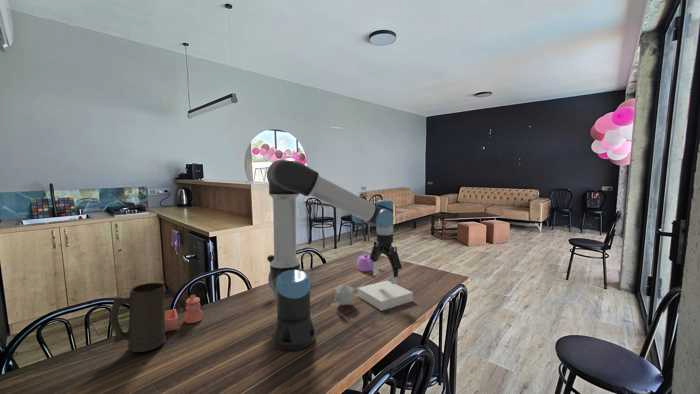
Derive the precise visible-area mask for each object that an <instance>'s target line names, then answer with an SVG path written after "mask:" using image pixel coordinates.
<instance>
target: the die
mask: <svg viewBox="0 0 700 394" xmlns="http://www.w3.org/2000/svg"><path fill="white" fill-rule="evenodd" d="M334 302H335V303H339V304H340V305H342V306H346V305H348V304H351V303H353V302H355V288H354V287H353V286H350V285H348V284H346V283H343V284H341V285H338V286H337V287H335V288H334Z"/></svg>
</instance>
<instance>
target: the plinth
mask: <svg viewBox="0 0 700 394" xmlns="http://www.w3.org/2000/svg"><path fill="white" fill-rule="evenodd" d="M357 297H359V298H360V299H361V300H363V301H365V302H367V303H368V304H370V305H371V306H373V307H374V308H377V309H378V310H379V311H385V310H388V309H392V308H395V307H398V306H401V305H404V304H407V303H411V302H413V301H414V300H413V299H414V292H413V291H411V290H408V289H406V288H404V287H402V286H400V285H399V284H397V283H396V284H392V281H389V280H383V281H379V282H375V283H372V284H367V285H365V286H364V285H363V286H360V287H357Z"/></svg>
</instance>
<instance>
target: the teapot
mask: <svg viewBox="0 0 700 394" xmlns="http://www.w3.org/2000/svg"><path fill="white" fill-rule="evenodd" d="M370 255H371V254H370ZM370 255H369V254H367V253H364V254H363V255H359V256H358V258H357V260H356V268H357V270H358V271H359V272H363V273H368V272H373V261H372V259H370ZM377 261H379V259H378V260H377Z"/></svg>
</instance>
